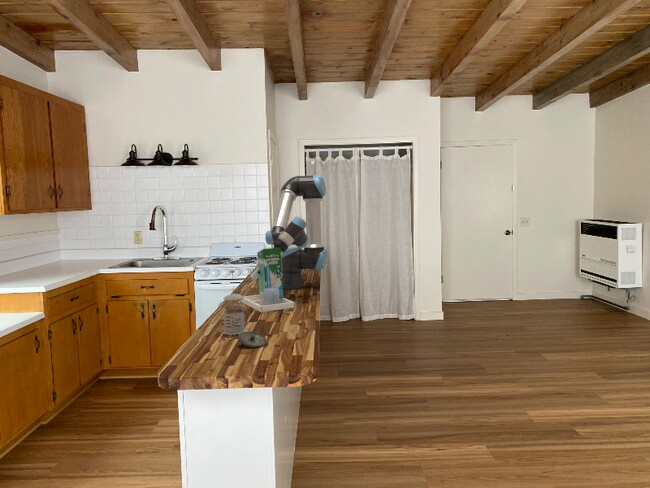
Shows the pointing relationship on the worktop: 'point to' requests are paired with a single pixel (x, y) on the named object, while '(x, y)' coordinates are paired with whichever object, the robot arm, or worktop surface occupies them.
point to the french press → (233, 315)
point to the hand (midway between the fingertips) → (253, 278)
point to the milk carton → (270, 270)
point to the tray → (260, 305)
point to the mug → (271, 295)
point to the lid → (252, 339)
